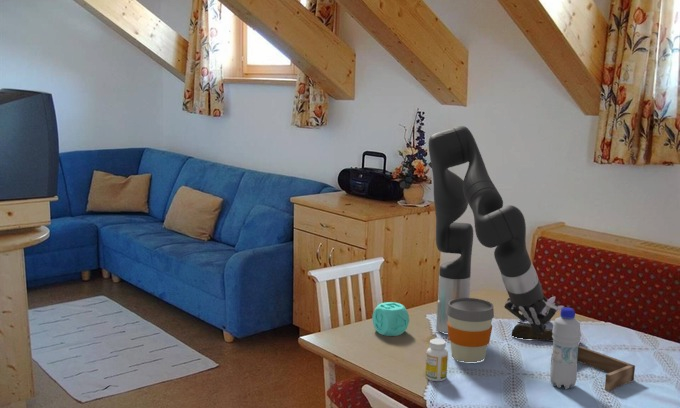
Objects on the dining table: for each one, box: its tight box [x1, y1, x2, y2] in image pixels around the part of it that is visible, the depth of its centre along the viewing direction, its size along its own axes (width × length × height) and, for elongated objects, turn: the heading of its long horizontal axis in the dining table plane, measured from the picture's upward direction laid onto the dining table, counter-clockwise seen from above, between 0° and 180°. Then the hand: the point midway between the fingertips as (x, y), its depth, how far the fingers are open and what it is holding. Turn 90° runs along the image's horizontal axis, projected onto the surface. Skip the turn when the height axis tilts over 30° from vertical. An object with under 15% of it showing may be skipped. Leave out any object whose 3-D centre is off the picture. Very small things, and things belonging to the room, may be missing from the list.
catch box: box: [550, 344, 636, 392], centre depth 180 cm, size 11×17×4 cm, turn 36°
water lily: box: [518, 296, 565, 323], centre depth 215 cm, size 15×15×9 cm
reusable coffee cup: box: [447, 297, 495, 362], centre depth 190 cm, size 13×13×15 cm
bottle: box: [549, 306, 582, 390], centre depth 172 cm, size 7×7×20 cm
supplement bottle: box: [424, 338, 449, 382], centre depth 176 cm, size 5×5×10 cm
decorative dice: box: [371, 301, 410, 337], centre depth 209 cm, size 8×8×8 cm
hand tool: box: [511, 323, 553, 342], centre depth 205 cm, size 19×4×5 cm, turn 77°
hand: (540, 331), depth 166 cm, fingers closed
